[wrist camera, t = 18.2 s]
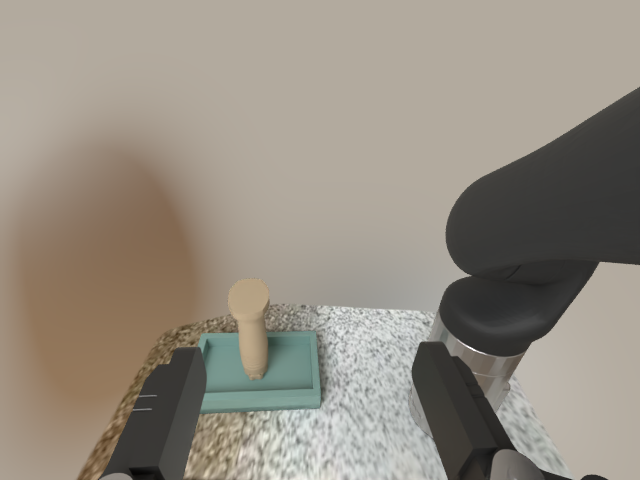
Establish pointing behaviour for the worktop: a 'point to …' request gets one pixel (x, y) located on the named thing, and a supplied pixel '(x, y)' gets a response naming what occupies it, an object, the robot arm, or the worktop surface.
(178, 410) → the robot arm
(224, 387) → the tray
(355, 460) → the worktop surface
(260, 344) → the handle
